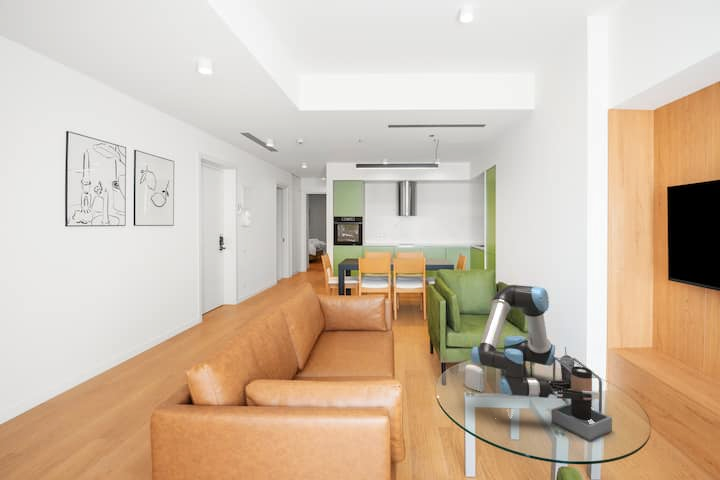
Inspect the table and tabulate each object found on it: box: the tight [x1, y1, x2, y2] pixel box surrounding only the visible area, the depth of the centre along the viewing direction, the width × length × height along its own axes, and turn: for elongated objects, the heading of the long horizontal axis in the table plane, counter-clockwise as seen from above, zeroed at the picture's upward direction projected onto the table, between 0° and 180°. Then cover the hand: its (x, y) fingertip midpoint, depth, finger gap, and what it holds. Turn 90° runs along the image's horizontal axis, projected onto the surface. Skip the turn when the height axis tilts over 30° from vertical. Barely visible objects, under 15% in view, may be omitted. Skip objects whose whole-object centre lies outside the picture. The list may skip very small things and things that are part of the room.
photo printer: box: [464, 364, 485, 393], centre depth 188 cm, size 10×4×12 cm, turn 38°
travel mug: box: [570, 366, 593, 420], centre depth 150 cm, size 8×8×20 cm
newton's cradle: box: [552, 356, 603, 414], centre depth 174 cm, size 30×10×18 cm, turn 170°
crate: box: [550, 402, 613, 443], centre depth 150 cm, size 16×16×6 cm
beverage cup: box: [559, 346, 576, 382], centre depth 196 cm, size 7×7×20 cm
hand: (593, 391), depth 149 cm, fingers closed on travel mug, 7 cm apart
